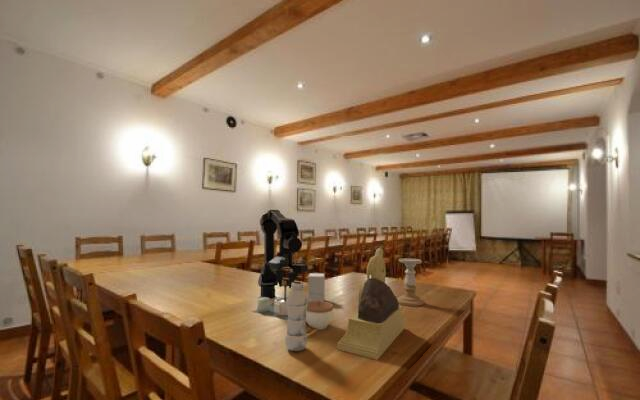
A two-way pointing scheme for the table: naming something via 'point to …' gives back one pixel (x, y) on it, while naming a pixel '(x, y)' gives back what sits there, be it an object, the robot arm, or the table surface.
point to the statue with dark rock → (373, 314)
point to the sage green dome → (263, 305)
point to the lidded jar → (319, 314)
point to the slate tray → (272, 313)
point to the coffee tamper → (284, 283)
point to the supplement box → (316, 287)
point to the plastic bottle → (296, 318)
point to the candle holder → (410, 284)
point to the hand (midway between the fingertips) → (285, 287)
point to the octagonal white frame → (280, 307)
